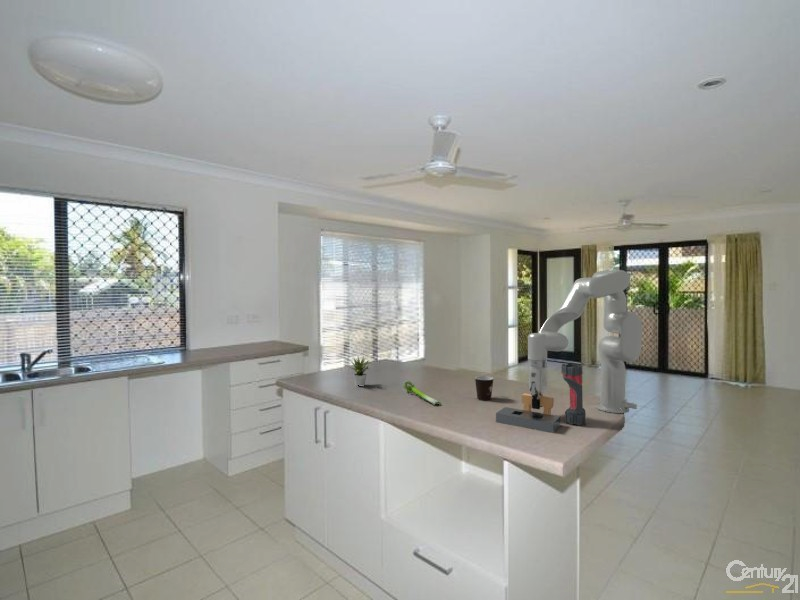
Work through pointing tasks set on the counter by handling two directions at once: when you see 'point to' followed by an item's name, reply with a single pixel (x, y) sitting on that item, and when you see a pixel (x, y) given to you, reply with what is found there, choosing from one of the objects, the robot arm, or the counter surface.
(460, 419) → the counter surface
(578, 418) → the flashlight
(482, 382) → the coffee mug
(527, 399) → the tan bridge block
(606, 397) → the robot arm
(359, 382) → the house plant
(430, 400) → the green celery stalk
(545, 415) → the dark gray slotted block
